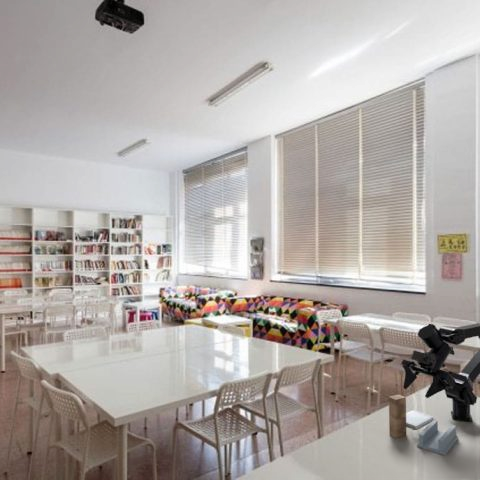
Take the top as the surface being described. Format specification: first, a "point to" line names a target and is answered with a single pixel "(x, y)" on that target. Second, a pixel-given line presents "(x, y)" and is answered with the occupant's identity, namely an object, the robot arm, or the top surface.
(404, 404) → the brown wooden block
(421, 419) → the hard drive
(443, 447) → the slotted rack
